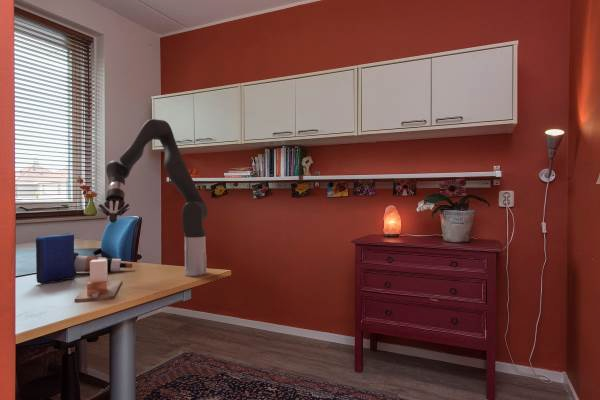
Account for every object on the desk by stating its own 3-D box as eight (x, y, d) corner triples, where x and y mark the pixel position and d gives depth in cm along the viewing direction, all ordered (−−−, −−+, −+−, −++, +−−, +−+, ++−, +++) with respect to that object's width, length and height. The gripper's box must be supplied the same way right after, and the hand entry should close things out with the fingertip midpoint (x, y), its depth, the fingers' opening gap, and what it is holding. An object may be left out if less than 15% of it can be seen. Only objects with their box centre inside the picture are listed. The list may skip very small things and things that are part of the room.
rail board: (121, 282, 156) (121, 270, 156) (113, 298, 132) (113, 284, 132) (89, 285, 152) (88, 272, 152) (74, 302, 128) (74, 287, 128)
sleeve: (107, 287, 142) (107, 258, 142) (105, 290, 138) (105, 261, 138) (92, 288, 141) (92, 259, 141) (90, 292, 136) (89, 262, 136)
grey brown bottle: (130, 280, 180) (131, 263, 176) (47, 278, 169) (46, 260, 164) (132, 267, 188) (134, 251, 184) (54, 264, 177) (53, 247, 173)
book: (71, 277, 167) (70, 232, 166) (77, 278, 164) (77, 232, 164) (34, 284, 154) (34, 235, 154) (41, 285, 151) (40, 236, 151)
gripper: (98, 187, 170) (94, 216, 159) (130, 187, 175) (128, 215, 163) (100, 199, 175) (96, 227, 164) (131, 198, 180) (130, 226, 168)
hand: (112, 221), depth 163 cm, fingers closed
